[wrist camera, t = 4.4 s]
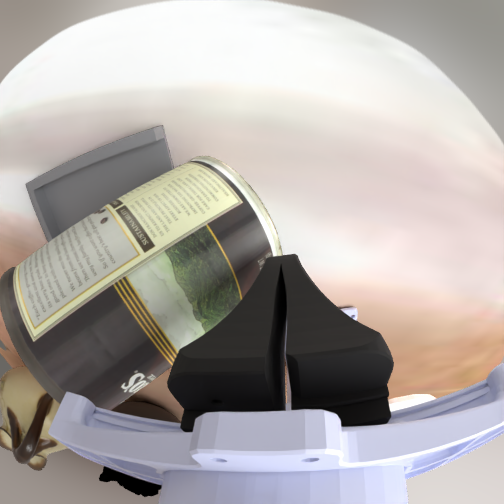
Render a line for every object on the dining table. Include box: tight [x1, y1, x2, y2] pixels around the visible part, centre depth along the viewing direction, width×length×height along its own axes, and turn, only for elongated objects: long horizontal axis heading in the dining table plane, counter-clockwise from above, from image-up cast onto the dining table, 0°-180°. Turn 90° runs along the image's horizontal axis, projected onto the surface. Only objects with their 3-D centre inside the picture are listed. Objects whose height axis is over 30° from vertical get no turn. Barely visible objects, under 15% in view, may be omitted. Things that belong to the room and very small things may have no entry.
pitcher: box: [0, 366, 68, 471], centre depth 35 cm, size 22×24×25 cm
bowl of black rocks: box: [99, 401, 181, 497], centre depth 35 cm, size 20×20×19 cm
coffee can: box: [0, 156, 283, 411], centre depth 15 cm, size 10×10×14 cm
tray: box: [25, 125, 174, 242], centre depth 22 cm, size 15×16×2 cm
